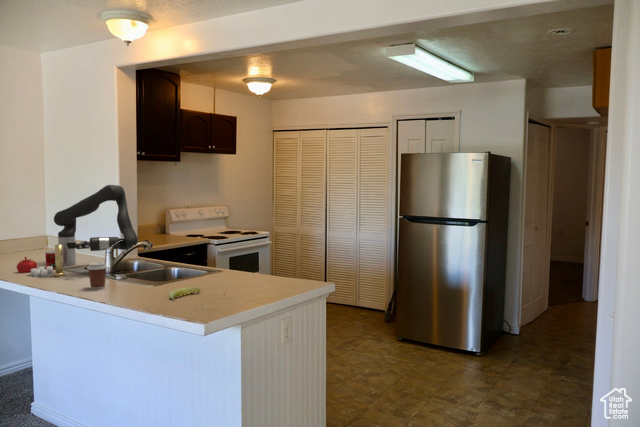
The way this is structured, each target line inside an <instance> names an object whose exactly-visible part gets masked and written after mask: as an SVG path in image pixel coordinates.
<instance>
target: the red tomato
mask: <svg viewBox="0 0 640 427" xmlns="http://www.w3.org/2000/svg"><path fill="white" fill-rule="evenodd" d="M34 268H36V269H38V264H37V262H36V261H35V260H33V259H32V258H27V256H24V259H22V260H20V261H19V262H18V263H17V265H16V270H17V272H18V273H19V274H28V273H31V269H34Z"/></svg>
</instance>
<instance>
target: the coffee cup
mask: <svg viewBox="0 0 640 427" xmlns="http://www.w3.org/2000/svg"><path fill="white" fill-rule="evenodd" d="M86 269H87V270H88V275H89V284H90V285H89V286H90V289H92V290H98V289H104V288H105V287H106V272H107V270H106V269H108V266H107V264H106V263H105V262H103V261H96V262H95V261H94V262H90V263H89V265H88V266H87V267H86Z"/></svg>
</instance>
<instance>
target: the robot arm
mask: <svg viewBox="0 0 640 427" xmlns="http://www.w3.org/2000/svg"><path fill="white" fill-rule="evenodd" d="M110 201H112V202H115V203H116V204H117V208H118V210H117V215H116V222H117V225H118V229H119V231H120V234H122V237H123V238H119V236H99V237H89V241H87V240H79V241H77V240H76V236H75V234H76V231H77V218H82V217H85V216H89V215H90V214H92V213H94V212H96V211H97V210H98V209H99V208H100V205H101V204H103V203H105V202H110ZM53 222H54V223H55V225H57V226H59V227H63V229H62V230H60V231H58V233H57V239H58V241H57V242H58V244H62V245H63V266H71V265H76V264H77V262H76V250H86V249H89V250H90V251H91V252H98V251H107V250H106V249H107V248H109V247H111V246H112V245H113V244H115V243H116V242H118V241H120V240H123V241H120V242H118V243H117V244H116V245H115V246H114V248H113V249H112V250H123V251H125V250H126V251H129V250H128V249H129V248H131V247H132V246H133V245H136V244H137V245H138V242H139V238H138V236H137V234H136V232H135V230H134V227H133V225H132V222H131V219H130V214H129V210H128V203H127V198H126V192H125V189H124V187H122V186H121V185H118V184H117V185H116V184H108V185H104V187H102V188H101V189H99V190H98V191H97V192H95V193H92V194H91V195H89V196H88V197H85V198H84V199H81V200H80V201H78V202H76V203H74V204H73V205H70V206H69V207H67V208H65V209H63V210H60V211H58V212H56V213H55V214H54V216H53ZM137 245H136V246H137Z"/></svg>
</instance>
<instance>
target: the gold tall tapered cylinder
mask: <svg viewBox="0 0 640 427" xmlns="http://www.w3.org/2000/svg"><path fill="white" fill-rule="evenodd" d="M54 251H55V265H56V270H55V272H53V273H54V276H55V277H60V276H65V275H66V272H65V271H64V265H63V245H62V244H57V243H56V244H55V245H54ZM55 277H54V278H55ZM65 277H66V276H65ZM60 278H61V277H60Z"/></svg>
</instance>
